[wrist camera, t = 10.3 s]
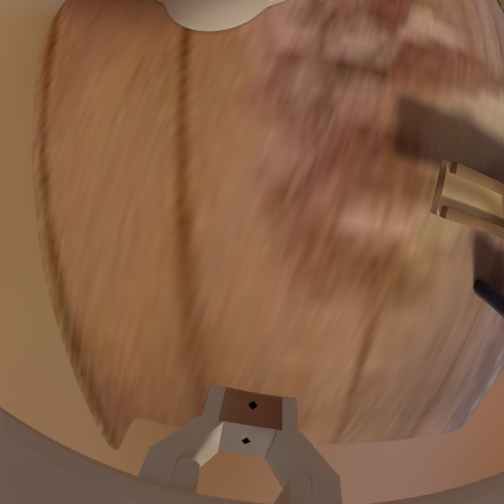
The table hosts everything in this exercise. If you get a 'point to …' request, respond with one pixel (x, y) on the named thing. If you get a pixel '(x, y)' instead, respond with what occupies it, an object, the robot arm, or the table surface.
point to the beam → (469, 198)
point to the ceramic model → (501, 4)
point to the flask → (490, 295)
